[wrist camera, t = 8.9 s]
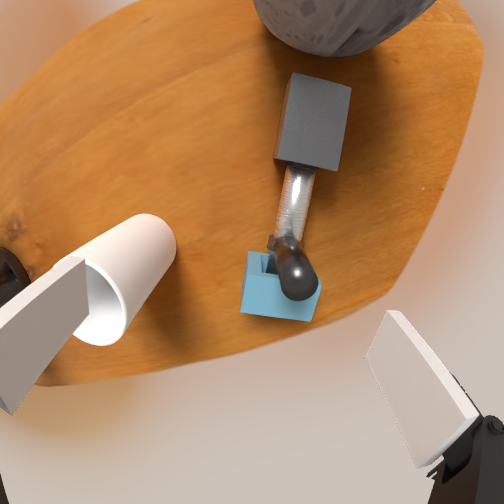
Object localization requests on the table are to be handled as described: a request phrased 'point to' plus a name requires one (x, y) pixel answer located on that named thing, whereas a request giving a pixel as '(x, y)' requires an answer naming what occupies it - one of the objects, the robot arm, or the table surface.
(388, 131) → the table surface
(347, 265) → the table surface
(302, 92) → the block
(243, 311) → the socket
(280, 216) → the handle
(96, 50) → the table surface
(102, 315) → the cup
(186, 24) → the table surface
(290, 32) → the vase
